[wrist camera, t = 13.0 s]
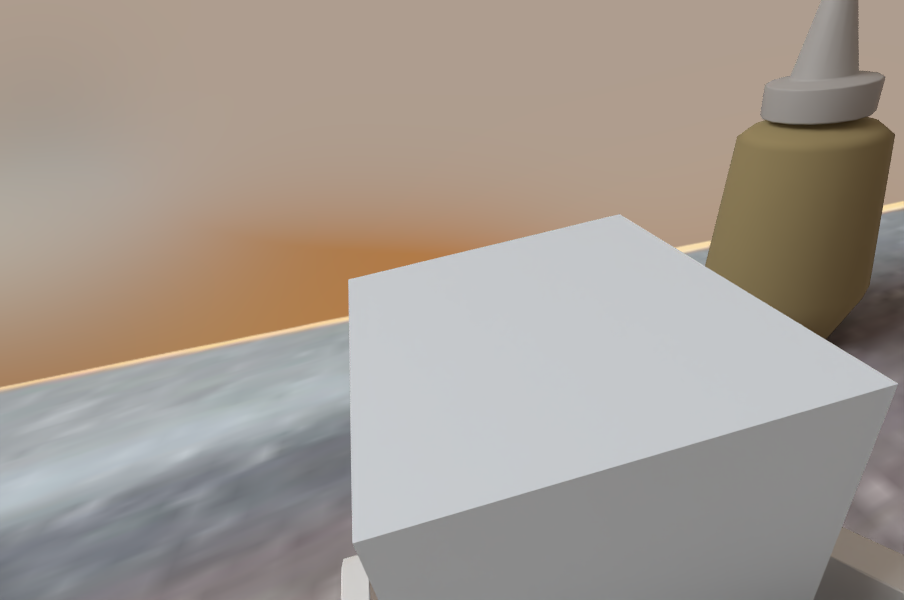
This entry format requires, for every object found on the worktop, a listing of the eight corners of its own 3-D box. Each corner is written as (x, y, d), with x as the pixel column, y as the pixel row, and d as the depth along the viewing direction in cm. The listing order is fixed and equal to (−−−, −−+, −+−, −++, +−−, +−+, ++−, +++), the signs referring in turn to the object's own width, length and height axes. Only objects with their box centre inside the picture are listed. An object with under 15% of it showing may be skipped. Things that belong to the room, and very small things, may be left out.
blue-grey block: (510, 890, 10) (352, 542, 4) (459, 631, 14) (348, 279, 8) (731, 807, 10) (898, 384, 4) (616, 581, 15) (619, 214, 9)
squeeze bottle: (687, 294, 34) (717, 6, 25) (817, 291, 32) (900, -25, 23) (714, 364, 28) (767, 8, 19) (880, 367, 25) (1031, -36, 17)
